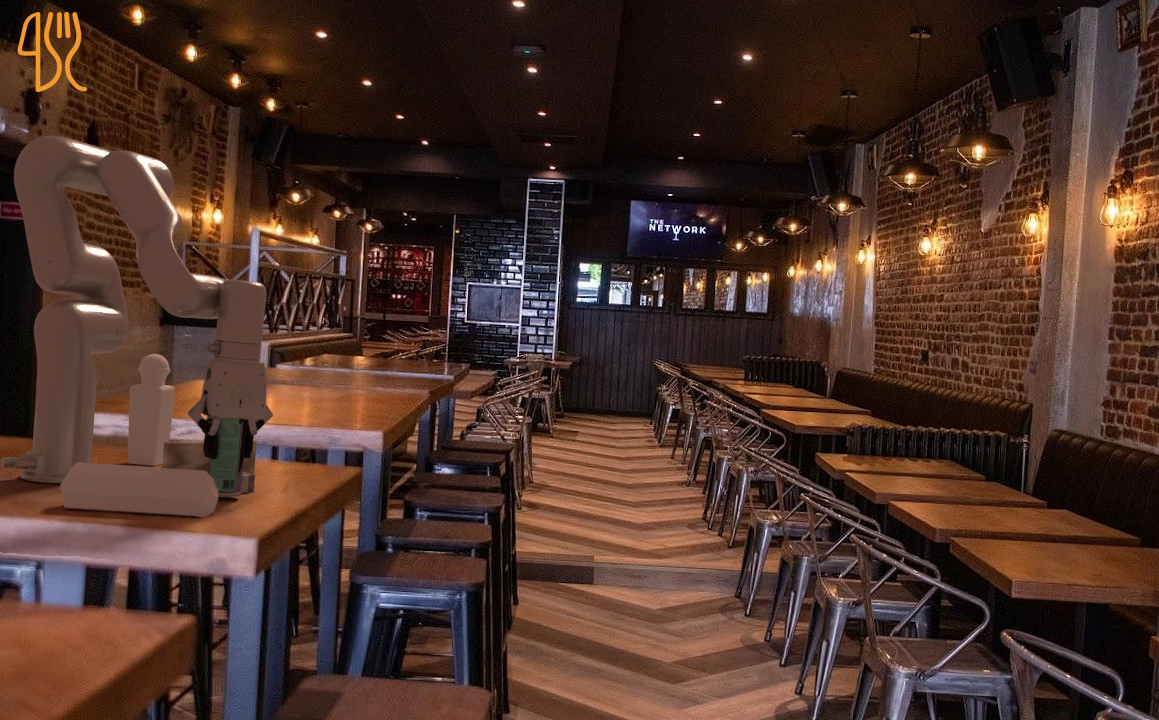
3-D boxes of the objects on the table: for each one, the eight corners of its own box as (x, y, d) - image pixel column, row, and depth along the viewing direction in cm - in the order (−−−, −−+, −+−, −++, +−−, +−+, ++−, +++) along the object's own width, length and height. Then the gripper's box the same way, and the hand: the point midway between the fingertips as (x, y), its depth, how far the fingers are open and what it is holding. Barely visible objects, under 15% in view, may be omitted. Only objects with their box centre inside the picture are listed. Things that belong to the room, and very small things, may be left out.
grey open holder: (184, 495, 178) (187, 449, 178) (160, 486, 185) (164, 442, 185) (274, 490, 190) (277, 447, 190) (249, 482, 197) (252, 440, 197)
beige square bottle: (139, 459, 212) (147, 352, 212) (170, 462, 212) (178, 355, 211) (123, 463, 206) (131, 352, 205) (155, 466, 205) (163, 355, 205)
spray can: (247, 495, 180) (258, 380, 179) (224, 498, 175) (235, 380, 175) (223, 489, 183) (234, 376, 182) (199, 493, 178) (211, 376, 177)
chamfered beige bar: (46, 487, 157) (209, 498, 159) (63, 458, 163) (221, 468, 165) (53, 524, 161) (212, 534, 163) (70, 494, 167) (224, 504, 169)
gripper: (199, 351, 169) (188, 462, 170) (293, 357, 182) (283, 460, 182) (179, 347, 174) (168, 454, 175) (272, 353, 187) (262, 453, 187)
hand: (227, 456), depth 179 cm, fingers closed on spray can, 5 cm apart
